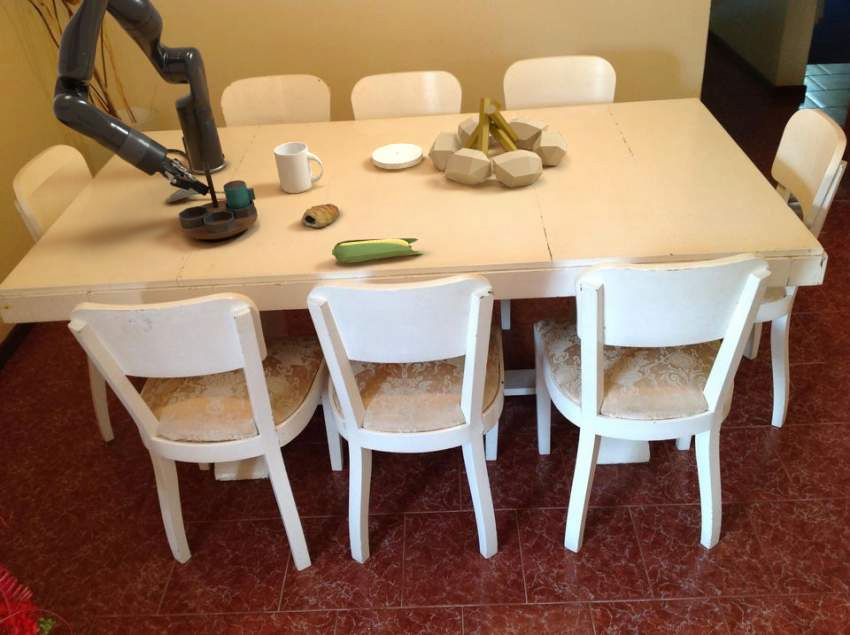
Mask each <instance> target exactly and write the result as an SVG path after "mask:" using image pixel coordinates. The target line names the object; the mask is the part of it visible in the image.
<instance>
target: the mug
mask: <svg viewBox="0 0 850 635" xmlns="http://www.w3.org/2000/svg"><path fill="white" fill-rule="evenodd" d="M273 153H274V159H275V163H276V169H277V173H278V179H279V184H280V188H281V189H282V191H284V193H287V194H300V193H303V192H306V191H309V190H311V189H312V188H313V186H314V183H317V182H319V181H320V180H321V179H322V178H323V175H324V166H323V163H322V161H321V159H320V158H319V157H318V156H317V155H315V154H314V153H311V152H309V147H308V145H307V144H306V143H305V142H301V141H291V142H286V143H282V144H279V145H278V146H276V147H274V148H273ZM311 161H314V162H317V163H318V164H319V165H320V168H321V171H320V174H318V175H314V174H313V170H312V164H311Z"/></svg>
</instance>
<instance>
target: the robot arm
mask: <svg viewBox="0 0 850 635" xmlns="http://www.w3.org/2000/svg"><path fill="white" fill-rule="evenodd" d="M106 12H107V13H108V14H109V15H110V16H111V18H112V19H113V20H114V21H115V23H116V24H117V25H118V27H120V29H122V31H124V33H125V34H126V35H127V36H128V37H129V38H130V39H131V40H132V41H133V42H134V43H135V44H136V45H137V47H138V48H139V49H140V50H141V52H142V53H143V54H144V55H145V56H146V58H147V60H148V61H149V62H150V64H151V65H152V66H153V68H154V70H155V71H156V72H157V74H158V75H159V76H160V78H161V79H162V80H163V81H164V82H165V83H166V84H170V85H189V92H187V93H185V94H183V95H180V96H179V97H177V98H176V100H174V106H175V111H176V113H177V117H178V122H179V126H180V128H181V132H182V135H183V136H182V137H181V141H182V145H183V148H184V151H183V150H181V149H177V148H167V147H166V146H164V145H163V144H161V143H159V142H158V141H156V140H154V139H153V138H151V137H150V136H148V135H147V134H145V133H144V132H142V131H140V130H138V129H136V128H133V127H132V126H130V125H128V124H127V123H125V122H123V121H122V120H121V119H119V118H117V117H115V116H113V115H111V114H108V113H107V112H104V111H103V110H101V109H100V108H99V107H97V106H96V105H94V104H93V103H92V102H90V101H89V95H90V86H91V82H92V79H93V76H94V72H95V70H94V69H95V64H96V57H97V47H98V42H99V37H100V32H101V28H102V25H103V21H104V19H105V15H106ZM163 30H164V22H163V17H162V15H161V13H160V11H159V10H158V9H157V8H156V6H155V5H154V4H153V2H152V1H151V0H81V2H80V4H79V5H78V8H77V9H76V10H75V12H74V13H73V14H72V16H71V17H70V18H69V20H68V22H67V23H66V24H65V26H64V29H63V30H62V33H61V36H60V40H59V48H58V57H57V67H56V68H57V76H56V79H55V80H56V81H55V84H54V90H53V96H52V102H51V103H52V107H51V108H52V112H53V115H54V117H55V118H56V120H57V121H58V122H60V123H61V124H62V125H63V126H65V127H66V128H67V127H68V128H69V129H71V130H73V131H74V132H77V133H79V134H80V135H82V136H84V137H87V138H89V139H91V140H92V141H94V142H95V143H97V144H98V145H99V146H101V147H103V148H105V149H106V150H108V151H109V152H111V153H113V154H114V155H116V156H117V157H119V158H120V159H121V160H122V161H124V162H125V163H127V164H129V165H131V166H133V167H134V168H136V169H137V170H139V171H141V172H142V173H144V174H146V175H148V176H150V177H151V176H154V175H155V174H156V173H159V174H160V175H161V176H162V177H163V178H164V179H165V180H167V181H170V182H169V185H170V186H171V187H174V188H178V189H185V190H189V189H191V188H192V189H193V190H195V191H196V192H198V193H200V194H199V195H201V196H203V197H204V196H207V193H208V192H209V187H208V184H206V183H204V182H202V181H200V180H199V179H197V177H196V176H195V175H194V174H196V175H205V172H204V168H203V162H208V166H209V170H210V174H214V173H217V172H220V171H222V170H223V169H225V168H226V166H227V163H226V160H225V159H226V157H225V153H224V152H223V147H222V144H221V140H220V135H219V132H218V128H217V123H216V119H215V115H214V111H213V107H212V103H211V102H212V101H211V94H210V87H209V83H208V78H207V73H206V66H205V62H204V58H203V55H202V53H201V51H200V50H199V49H198V48H197V47H195V46H176V47H175V46H172V47H171V46H168V45H166V44H165V43H164V42H163V41H162V36H163V32H164V31H163ZM168 153H177V154H180V155H182V156H183V157H184V158H185V159H186V160H187V163H188V167H189V168H188V167H187V166H186V165H185V164H183V162H182V161H180V159H178V158H175V157H174V158H170V157H168V156H167V155H168Z"/></svg>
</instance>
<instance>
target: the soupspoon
mask: <svg viewBox="0 0 850 635" xmlns="http://www.w3.org/2000/svg"><path fill="white" fill-rule="evenodd" d="M215 193H216V194H225V192H224V190H222V191H221V190H220V191H219V190H215ZM207 194H209V195H210V191H209V192H208V193H207ZM207 194H206V195H207ZM196 195H201V194H200V193H198V192H196V191H195V190H193V189H192V188H191V189H189V190H185V189H181V188H178V189H177V190H175V191H174V192H172V193H171V195H170V196H169V197H168V200H167V202H168V203H173V202H176V201H178V200H182V199H184V198H188V197H191V196H196Z"/></svg>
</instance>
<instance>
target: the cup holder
mask: <svg viewBox="0 0 850 635" xmlns="http://www.w3.org/2000/svg"><path fill="white" fill-rule="evenodd" d="M203 168H204V172H205V174H204V175H205V176H204V177H205V180H206V183H207V186H208V187H209V191H210V194H209V195H210V199H211V202H208V203H204V204H202V205H201V204H200V205H196V206H191V207H186V208H184V209H183V210H182V211H180V212H178V220H179V226H180V229H181V232H182V234H184V235H185V236H187V237H189V238H192V239H196V240H198V239H217V238H223V237H227V236H231V235H234V234H237V233H239V232H241V231H243V230H245V229H247V228H248V227H249V228H250V227H252V226H253V225H254V223H255V222H256V221H257V219H258V216H259V215H258V209H257V207H256V205H255V201H254V200H256V195H255V190H254V187H249V188H248V187H247V186H248V185H247V182H246V181H245V180H241V179H240V180H239V179H236V180H231V181H227V182H225V183H224V185H223V191H224V192H225V193H224V196H225V199H222V200H218V199H217V193H215V191H216V189H215V186H214V182H213V178H212V175H211V174H212V173H210V170H209V166H208V162H203ZM249 228H248V229H249Z"/></svg>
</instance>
